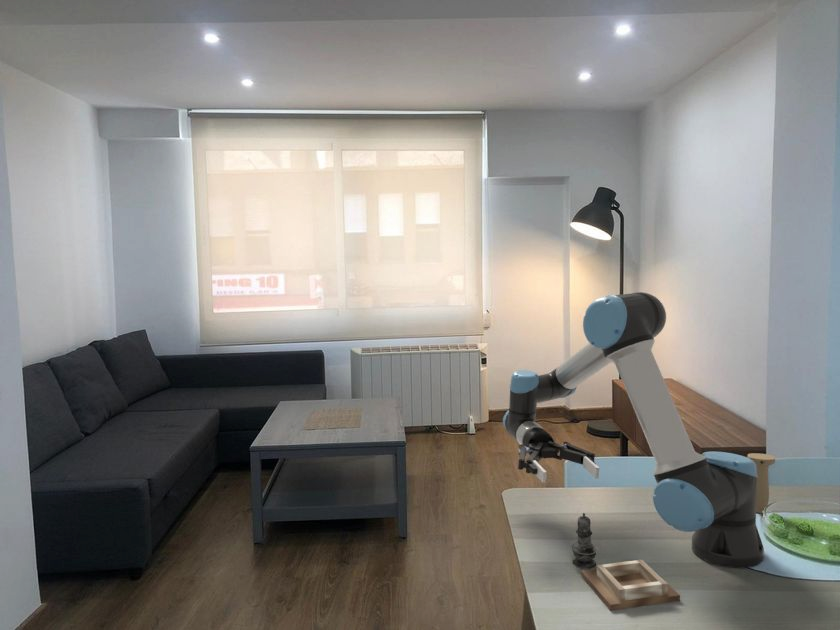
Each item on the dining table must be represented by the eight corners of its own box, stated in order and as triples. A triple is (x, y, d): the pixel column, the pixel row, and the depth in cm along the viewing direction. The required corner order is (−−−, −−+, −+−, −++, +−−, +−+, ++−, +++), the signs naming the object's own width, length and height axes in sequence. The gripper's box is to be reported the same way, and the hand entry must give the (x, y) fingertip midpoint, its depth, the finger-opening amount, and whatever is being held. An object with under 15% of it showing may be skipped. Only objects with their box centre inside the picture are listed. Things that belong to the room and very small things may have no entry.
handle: (774, 516, 172) (776, 460, 170) (746, 513, 174) (748, 458, 172) (772, 509, 176) (774, 454, 174) (745, 506, 179) (746, 452, 177)
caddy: (645, 567, 148) (645, 552, 148) (679, 600, 135) (680, 584, 134) (581, 576, 146) (581, 560, 145) (610, 610, 132) (610, 593, 132)
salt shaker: (578, 554, 155) (577, 505, 154) (602, 561, 152) (601, 511, 150) (566, 564, 151) (565, 514, 150) (590, 572, 147) (590, 520, 146)
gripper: (576, 450, 181) (617, 485, 161) (490, 456, 175) (520, 494, 155) (579, 424, 179) (620, 456, 159) (491, 429, 173) (523, 464, 153)
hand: (571, 475), depth 157 cm, fingers open, 13 cm apart
